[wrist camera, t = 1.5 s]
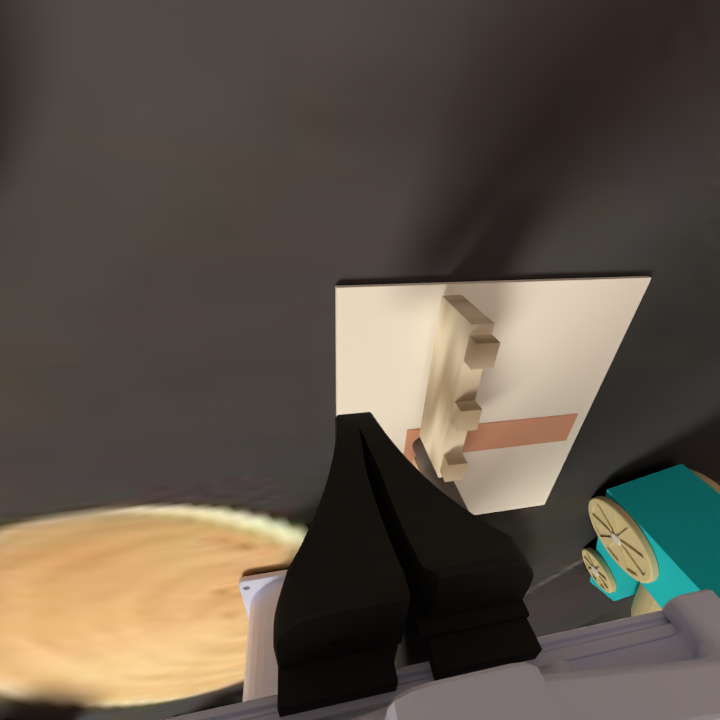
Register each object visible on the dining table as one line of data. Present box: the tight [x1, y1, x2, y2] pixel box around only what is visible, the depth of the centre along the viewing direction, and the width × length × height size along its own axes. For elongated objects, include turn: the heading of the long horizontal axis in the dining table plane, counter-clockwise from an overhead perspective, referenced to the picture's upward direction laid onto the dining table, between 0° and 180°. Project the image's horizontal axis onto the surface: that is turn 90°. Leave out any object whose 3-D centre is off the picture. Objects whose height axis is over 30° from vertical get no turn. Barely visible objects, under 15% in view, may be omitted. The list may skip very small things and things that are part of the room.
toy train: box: [582, 464, 720, 617], centre depth 27 cm, size 8×17×15 cm, turn 16°
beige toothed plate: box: [419, 295, 500, 482], centre depth 18 cm, size 9×1×4 cm, turn 178°
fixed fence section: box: [413, 437, 468, 511], centre depth 22 cm, size 7×1×6 cm, turn 178°
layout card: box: [335, 276, 651, 515], centre depth 23 cm, size 19×17×1 cm
